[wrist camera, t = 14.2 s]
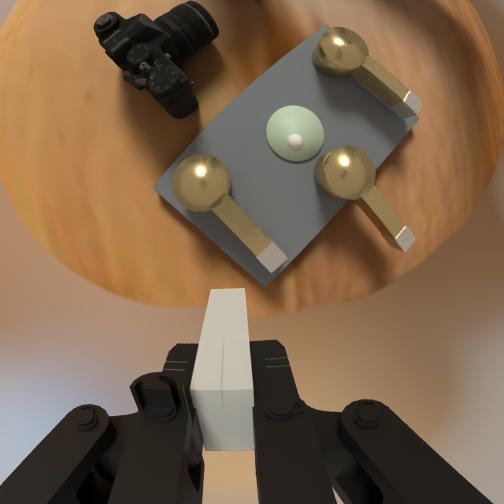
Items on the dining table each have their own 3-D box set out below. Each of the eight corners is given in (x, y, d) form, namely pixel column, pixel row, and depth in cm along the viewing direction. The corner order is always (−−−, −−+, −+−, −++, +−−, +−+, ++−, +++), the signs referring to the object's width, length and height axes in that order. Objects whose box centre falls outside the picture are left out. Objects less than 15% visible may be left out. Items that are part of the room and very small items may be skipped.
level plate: (322, 32, 24) (329, 20, 21) (410, 121, 28) (424, 117, 25) (157, 187, 28) (149, 187, 25) (263, 281, 31) (266, 291, 28)
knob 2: (304, 61, 24) (313, 44, 20) (325, 36, 23) (336, 19, 19) (392, 129, 26) (412, 124, 22) (408, 102, 25) (427, 94, 21)
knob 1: (171, 183, 26) (160, 183, 22) (207, 148, 25) (202, 141, 21) (255, 270, 29) (258, 284, 25) (291, 238, 28) (300, 247, 24)
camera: (249, 74, 26) (255, 31, 16) (172, 130, 27) (144, 106, 17) (181, 10, 23) (167, -36, 13) (113, 59, 24) (76, 26, 14)
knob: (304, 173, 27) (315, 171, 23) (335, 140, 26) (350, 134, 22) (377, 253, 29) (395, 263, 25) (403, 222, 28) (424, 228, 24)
